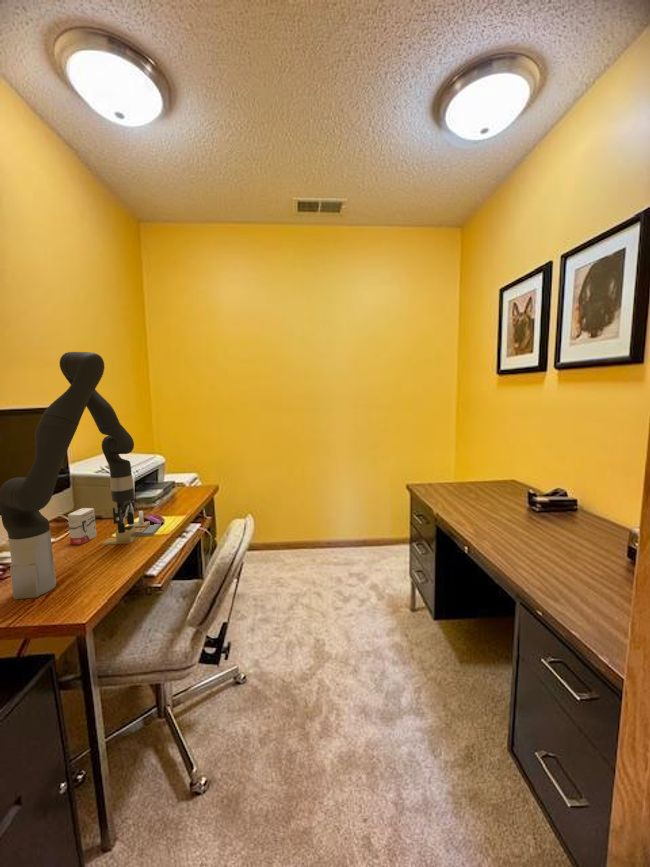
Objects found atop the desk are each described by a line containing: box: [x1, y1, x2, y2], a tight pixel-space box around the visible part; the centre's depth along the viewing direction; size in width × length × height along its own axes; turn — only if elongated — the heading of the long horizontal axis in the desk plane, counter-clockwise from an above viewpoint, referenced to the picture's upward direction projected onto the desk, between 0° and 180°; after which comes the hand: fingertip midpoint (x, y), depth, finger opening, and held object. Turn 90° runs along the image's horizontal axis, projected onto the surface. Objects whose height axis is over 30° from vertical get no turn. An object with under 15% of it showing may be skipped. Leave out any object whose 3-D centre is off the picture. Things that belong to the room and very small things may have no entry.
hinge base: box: [127, 510, 165, 537], centre depth 149 cm, size 14×13×8 cm
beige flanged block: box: [102, 525, 137, 546], centre depth 138 cm, size 10×5×5 cm, turn 98°
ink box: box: [67, 507, 98, 546], centre depth 139 cm, size 9×5×12 cm, turn 179°
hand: (126, 528), depth 138 cm, fingers open, 8 cm apart
